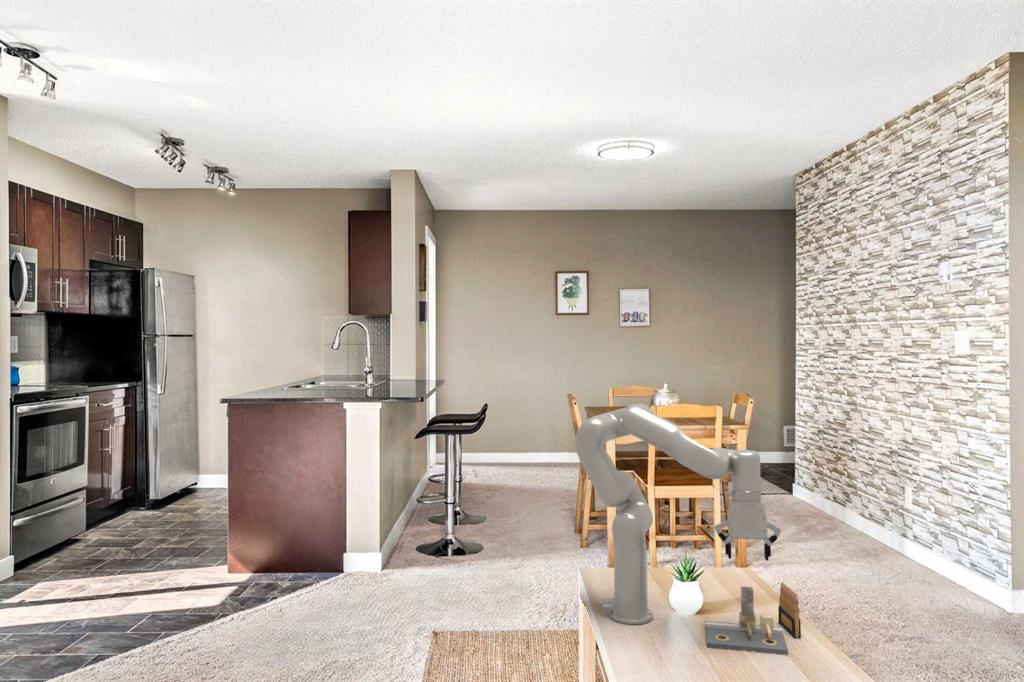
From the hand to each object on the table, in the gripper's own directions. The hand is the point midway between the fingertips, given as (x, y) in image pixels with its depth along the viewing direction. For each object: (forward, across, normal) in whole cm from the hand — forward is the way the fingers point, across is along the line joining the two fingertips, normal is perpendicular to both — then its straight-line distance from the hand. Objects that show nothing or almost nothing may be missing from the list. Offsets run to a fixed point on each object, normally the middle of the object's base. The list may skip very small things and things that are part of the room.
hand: (747, 558), depth 189 cm
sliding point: (+19, -1, -3) cm, 19 cm away
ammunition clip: (+21, +11, +6) cm, 25 cm away
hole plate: (+21, -2, -3) cm, 21 cm away
